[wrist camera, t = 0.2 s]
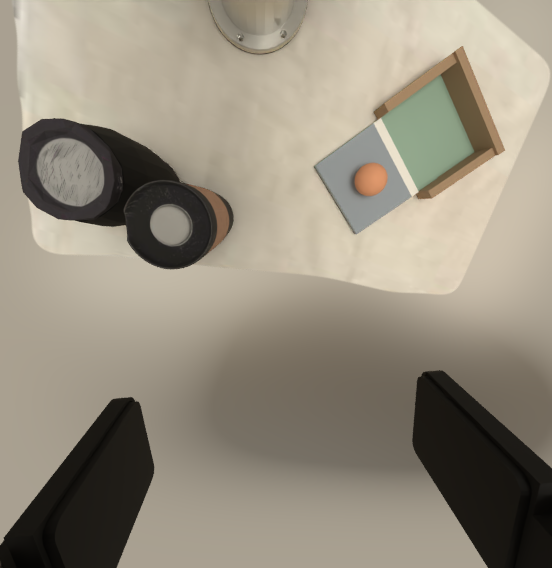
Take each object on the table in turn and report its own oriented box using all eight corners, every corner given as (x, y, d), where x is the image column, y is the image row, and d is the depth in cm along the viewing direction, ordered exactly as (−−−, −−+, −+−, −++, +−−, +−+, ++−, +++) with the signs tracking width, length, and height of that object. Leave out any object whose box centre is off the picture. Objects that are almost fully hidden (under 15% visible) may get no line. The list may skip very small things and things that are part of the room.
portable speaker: (139, 226, 42) (41, 242, 24) (113, 161, 40) (-20, 122, 21) (193, 211, 42) (137, 215, 23) (171, 145, 40) (88, 90, 21)
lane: (309, 159, 41) (314, 154, 37) (442, 61, 39) (462, 45, 35) (358, 239, 45) (367, 243, 41) (482, 155, 42) (505, 150, 38)
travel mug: (245, 217, 43) (233, 227, 24) (211, 252, 44) (172, 288, 25) (208, 179, 41) (162, 156, 22) (174, 216, 42) (101, 225, 23)
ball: (345, 177, 41) (354, 173, 37) (370, 158, 41) (383, 153, 36) (359, 202, 42) (370, 202, 38) (385, 185, 42) (399, 182, 37)
